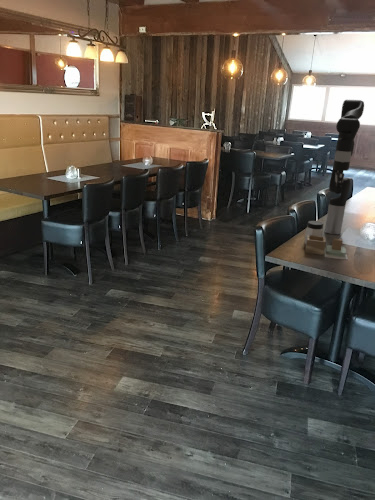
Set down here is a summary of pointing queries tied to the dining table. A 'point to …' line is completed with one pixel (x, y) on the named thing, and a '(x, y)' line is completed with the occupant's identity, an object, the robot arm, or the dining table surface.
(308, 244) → the box
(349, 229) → the dining table surface
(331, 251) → the lid
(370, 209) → the dining table surface
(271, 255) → the dining table surface
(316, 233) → the jar
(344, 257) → the mat
